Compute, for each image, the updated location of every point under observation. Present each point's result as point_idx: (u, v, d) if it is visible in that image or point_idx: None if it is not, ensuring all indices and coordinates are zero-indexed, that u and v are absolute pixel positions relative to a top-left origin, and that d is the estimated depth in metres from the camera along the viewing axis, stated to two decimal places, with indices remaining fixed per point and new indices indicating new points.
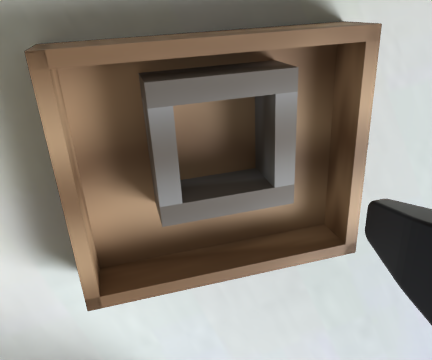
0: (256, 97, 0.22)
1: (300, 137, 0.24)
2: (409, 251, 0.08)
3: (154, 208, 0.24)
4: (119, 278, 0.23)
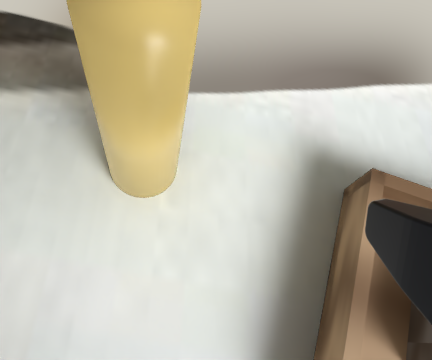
0: None
1: None
2: (409, 251, 0.08)
3: None
4: None
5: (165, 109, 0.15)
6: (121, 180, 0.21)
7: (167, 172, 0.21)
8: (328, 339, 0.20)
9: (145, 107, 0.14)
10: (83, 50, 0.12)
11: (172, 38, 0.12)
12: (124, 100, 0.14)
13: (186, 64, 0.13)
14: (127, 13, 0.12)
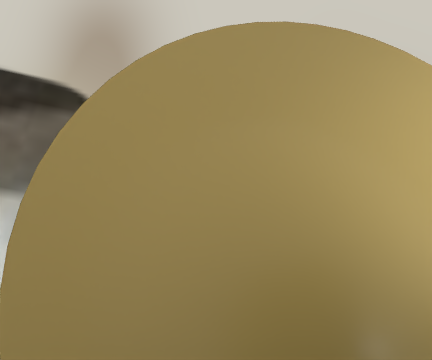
0: None
1: None
2: None
3: None
4: None
5: None
6: None
7: None
8: None
9: None
10: None
11: None
12: None
13: None
14: None
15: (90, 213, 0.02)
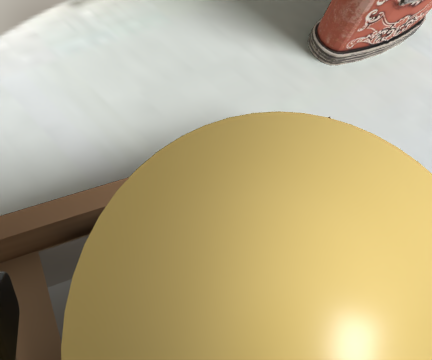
0: None
1: None
2: None
3: None
4: None
5: None
6: None
7: None
8: None
9: None
10: None
11: None
12: None
13: None
14: None
15: (125, 284, 0.03)
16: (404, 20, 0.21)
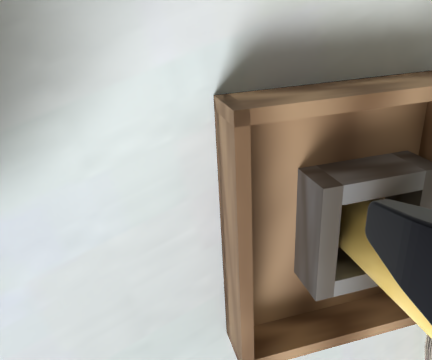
0: None
1: None
2: (409, 251, 0.08)
3: (292, 167, 0.23)
4: None
5: (430, 329, 0.17)
6: (351, 207, 0.23)
7: (345, 250, 0.23)
8: (306, 91, 0.21)
9: None
10: None
11: None
12: None
13: None
14: None
15: None
16: None
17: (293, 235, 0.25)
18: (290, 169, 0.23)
